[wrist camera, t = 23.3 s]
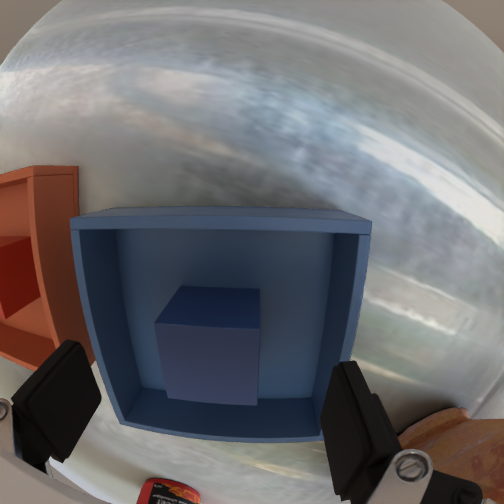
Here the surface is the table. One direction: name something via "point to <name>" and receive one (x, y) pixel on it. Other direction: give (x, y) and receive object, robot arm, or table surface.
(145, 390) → the blue bin
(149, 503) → the canned food
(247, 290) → the blue block
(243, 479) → the table surface
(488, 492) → the jug
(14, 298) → the red block
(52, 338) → the rust bin
